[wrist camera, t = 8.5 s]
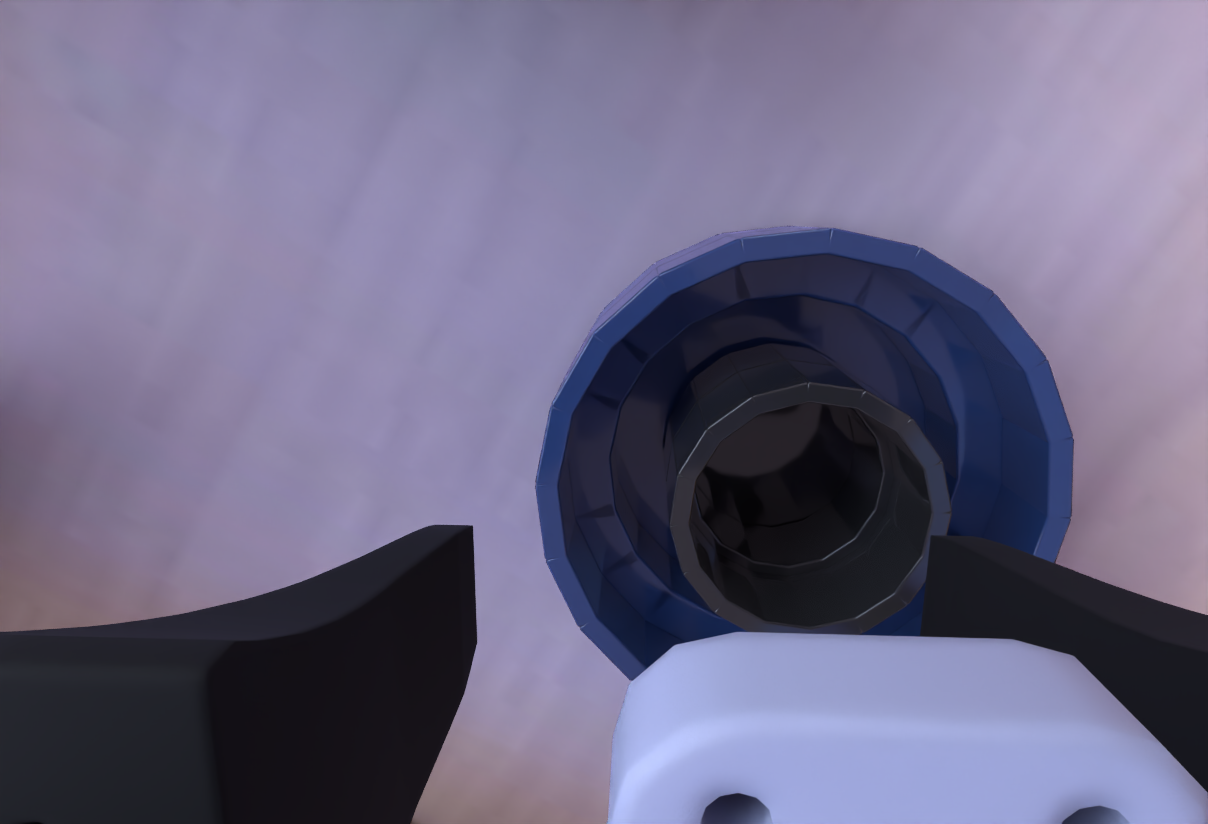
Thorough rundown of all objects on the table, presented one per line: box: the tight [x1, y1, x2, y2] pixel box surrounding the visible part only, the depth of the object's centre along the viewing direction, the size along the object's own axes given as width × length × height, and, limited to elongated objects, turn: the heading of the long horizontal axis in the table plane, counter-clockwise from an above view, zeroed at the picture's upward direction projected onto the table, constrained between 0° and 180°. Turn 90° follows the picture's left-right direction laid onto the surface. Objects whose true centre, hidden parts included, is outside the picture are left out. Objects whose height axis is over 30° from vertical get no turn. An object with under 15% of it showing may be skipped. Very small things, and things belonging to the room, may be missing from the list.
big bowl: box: [535, 226, 1074, 681], centre depth 19 cm, size 11×11×5 cm
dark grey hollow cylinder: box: [663, 343, 952, 635], centre depth 18 cm, size 5×5×5 cm
